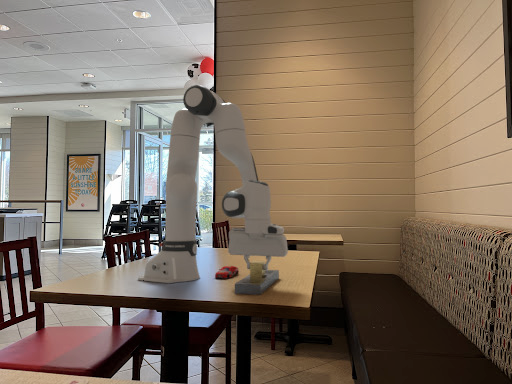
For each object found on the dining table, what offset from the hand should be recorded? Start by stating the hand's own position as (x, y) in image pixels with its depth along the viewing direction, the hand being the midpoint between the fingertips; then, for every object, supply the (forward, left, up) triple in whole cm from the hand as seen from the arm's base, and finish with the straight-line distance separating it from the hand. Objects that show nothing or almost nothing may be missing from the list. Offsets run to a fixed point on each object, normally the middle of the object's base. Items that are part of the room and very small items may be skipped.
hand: (257, 269), depth 126 cm
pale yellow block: (0, 0, -5) cm, 5 cm away
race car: (-16, +14, -6) cm, 22 cm away
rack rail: (0, +1, -5) cm, 5 cm away
